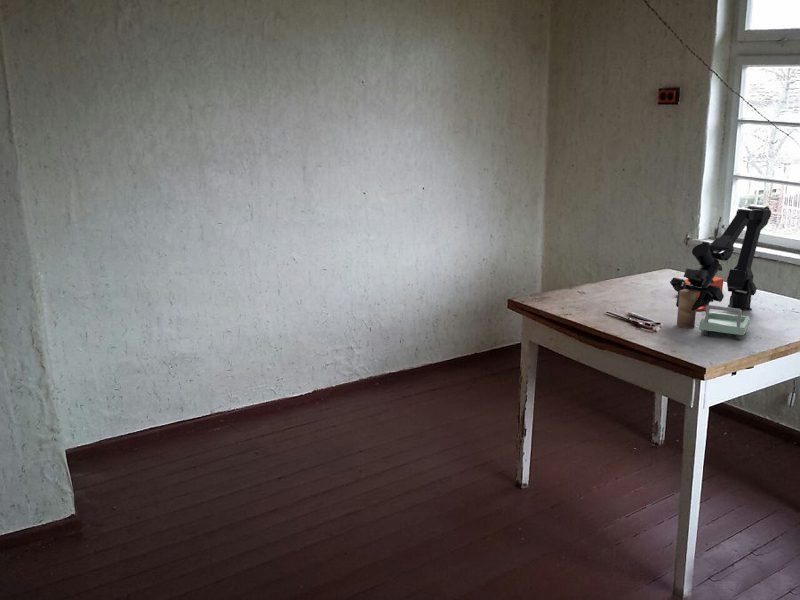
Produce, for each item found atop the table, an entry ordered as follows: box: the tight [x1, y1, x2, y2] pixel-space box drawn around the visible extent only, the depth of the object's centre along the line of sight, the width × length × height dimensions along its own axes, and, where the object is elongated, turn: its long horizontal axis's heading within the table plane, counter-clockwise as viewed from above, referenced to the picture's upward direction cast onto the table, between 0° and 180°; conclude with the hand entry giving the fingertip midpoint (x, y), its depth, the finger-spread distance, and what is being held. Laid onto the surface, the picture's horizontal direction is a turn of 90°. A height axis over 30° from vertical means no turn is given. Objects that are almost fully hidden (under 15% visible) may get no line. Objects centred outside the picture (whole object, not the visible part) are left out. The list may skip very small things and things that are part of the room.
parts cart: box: [698, 304, 751, 341], centre depth 259 cm, size 14×14×11 cm
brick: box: [683, 276, 725, 299], centre depth 308 cm, size 18×9×6 cm, turn 125°
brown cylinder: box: [676, 289, 698, 329], centre depth 268 cm, size 6×6×12 cm
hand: (684, 308), depth 267 cm, fingers closed on brown cylinder, 6 cm apart
